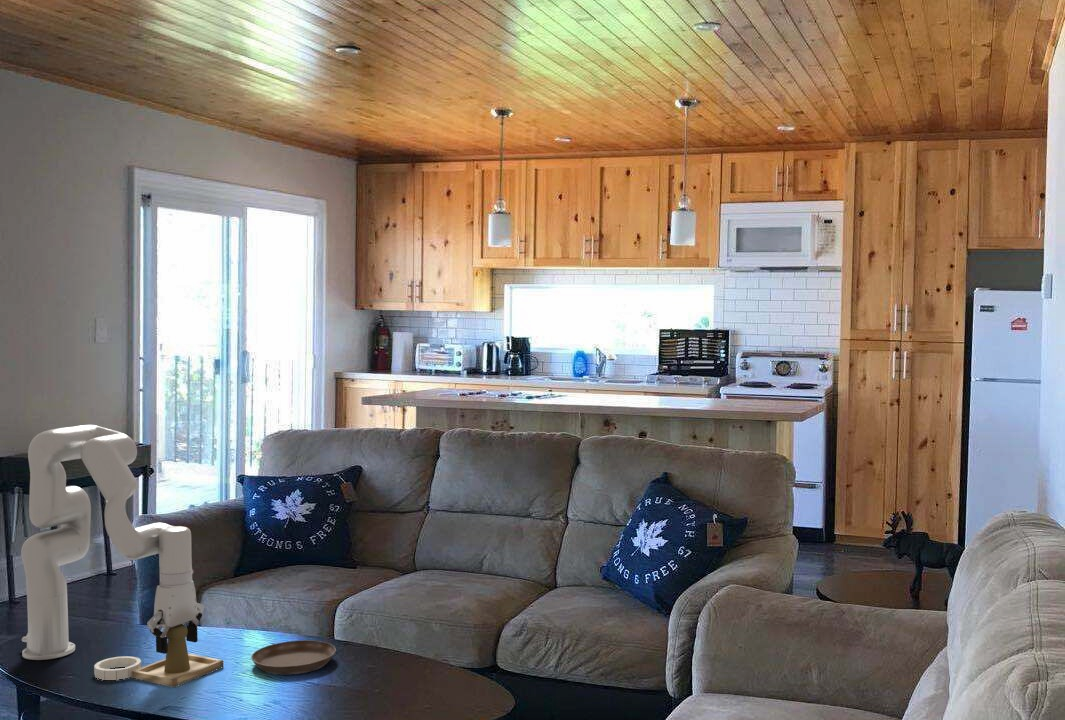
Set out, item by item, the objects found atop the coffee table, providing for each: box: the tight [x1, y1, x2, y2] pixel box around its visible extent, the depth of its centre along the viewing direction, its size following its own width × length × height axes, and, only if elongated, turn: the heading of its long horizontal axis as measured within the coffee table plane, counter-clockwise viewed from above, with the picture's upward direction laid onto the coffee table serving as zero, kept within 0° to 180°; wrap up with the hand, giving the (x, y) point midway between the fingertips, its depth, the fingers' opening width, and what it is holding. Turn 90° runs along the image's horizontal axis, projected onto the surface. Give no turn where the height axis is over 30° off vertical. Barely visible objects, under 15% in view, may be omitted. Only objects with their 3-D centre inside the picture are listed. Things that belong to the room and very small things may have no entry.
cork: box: [164, 623, 190, 673], centre depth 266 cm, size 6×6×11 cm
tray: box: [131, 652, 224, 688], centre depth 266 cm, size 14×16×2 cm
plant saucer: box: [251, 639, 337, 676], centre depth 272 cm, size 21×21×3 cm
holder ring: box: [93, 655, 143, 681], centre depth 266 cm, size 10×10×2 cm
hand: (177, 647), depth 266 cm, fingers open, 9 cm apart
